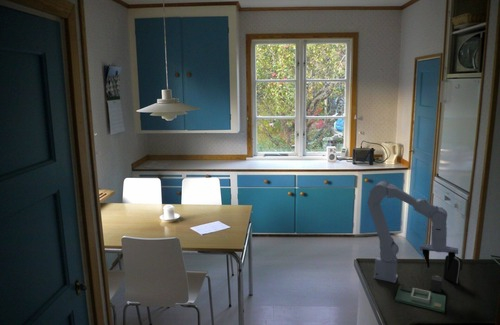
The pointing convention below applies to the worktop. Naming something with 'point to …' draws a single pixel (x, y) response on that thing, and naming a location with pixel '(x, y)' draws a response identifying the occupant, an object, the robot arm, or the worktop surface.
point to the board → (421, 298)
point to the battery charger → (453, 269)
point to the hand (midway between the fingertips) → (438, 267)
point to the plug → (436, 283)
